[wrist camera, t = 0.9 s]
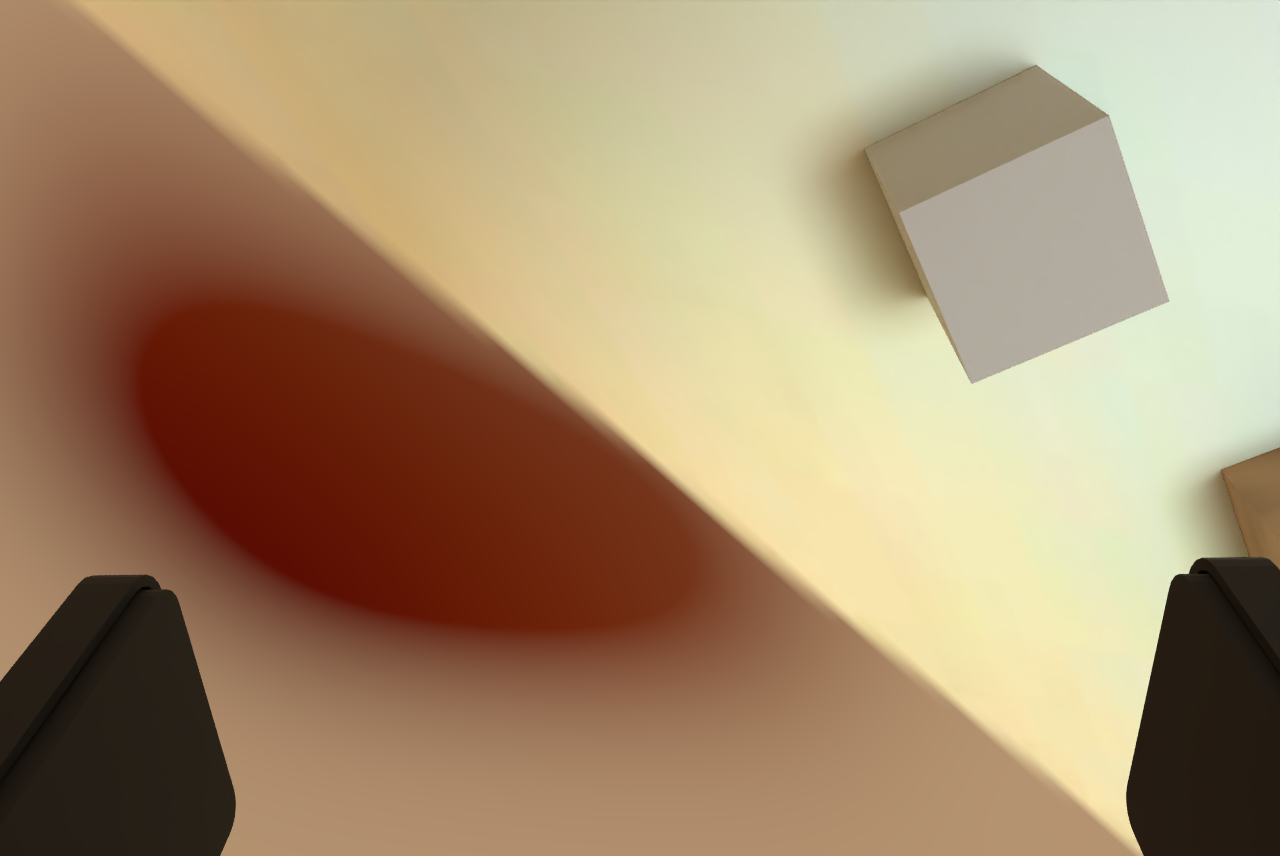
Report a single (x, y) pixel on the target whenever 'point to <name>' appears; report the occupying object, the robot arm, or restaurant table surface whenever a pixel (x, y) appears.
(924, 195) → the grey block
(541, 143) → the restaurant table surface
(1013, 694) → the restaurant table surface
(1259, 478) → the walnut block
